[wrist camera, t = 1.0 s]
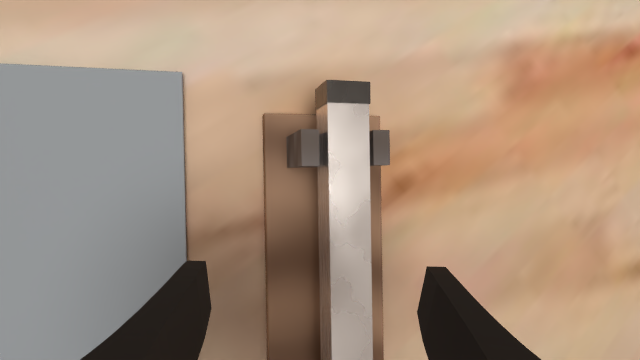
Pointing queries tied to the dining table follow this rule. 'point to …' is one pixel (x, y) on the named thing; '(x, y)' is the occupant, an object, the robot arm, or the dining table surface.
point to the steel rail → (344, 220)
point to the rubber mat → (86, 203)
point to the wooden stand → (307, 234)
